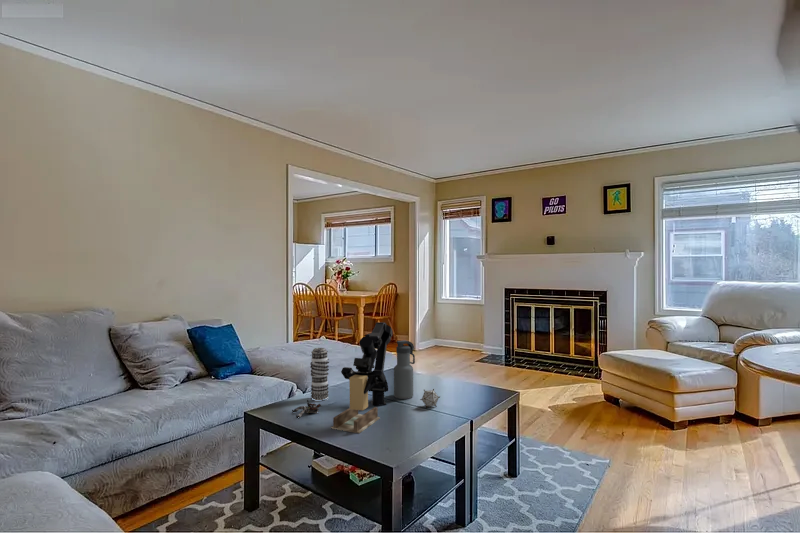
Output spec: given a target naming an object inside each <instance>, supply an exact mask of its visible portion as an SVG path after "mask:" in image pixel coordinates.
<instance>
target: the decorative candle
mask: <svg viewBox="0 0 800 533" xmlns="http://www.w3.org/2000/svg"><path fill="white" fill-rule="evenodd" d="M329 360H330V359H329V358H328V350H327V349H326V348H325V347H316V348H313V349H312V350H311V362H310V366H309V367H310V376H311V385H310V387H311V388H310V390H311V392H310V398H313V399H315V400H323V399H327V398H328V399H329V396H330V394H329V384H328V383H329V381H328V375H329V372H328V371H329V365H328V364H329V363H330V361H329ZM328 399H327V400H328Z"/></svg>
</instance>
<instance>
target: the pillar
mask: <svg viewBox="0 0 800 533" xmlns="http://www.w3.org/2000/svg"><path fill="white" fill-rule="evenodd" d="M348 380H349V382H348V383H349V408H350V409H354V410H358V411H363V412H364V410H366V409H367V408H369V391H368V392H367V393H366V394H364V389H365V386H366V384H367V381H368V376H364V375H353V376H352V377H350V378H349V379H348Z"/></svg>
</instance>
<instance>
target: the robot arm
mask: <svg viewBox="0 0 800 533" xmlns="http://www.w3.org/2000/svg"><path fill="white" fill-rule="evenodd" d="M392 337H393V328H392V327H391V326H389V325H387V323H386V322H385V321H383V322H381V321H379V322H375V324H374V328H373V330H372V331H371V333H366V334H364V337H361V338H360V340H359V342H358V343H359V347H360V350H361V352H362V354H363V355H362V357H361V358H360V357H354V359H353V367H355V369H356V370H353V368H352V367H347V366H344V367H342V368H341V371H340V372H341V375H342V376H343V377H344V378H345V380H349V378H350V377H352V376H353V375H364V376H368V381H367V384H366V386H365V389H364V394H366V393H367V392H368V393H369V392H371V396H372V397H371V398H372V399H371V400H370V404H371V405H372V406H375V407H377V406H385V405H387V402H386V401H385V393H386V392H388V391H389V386H388V385H389V383H388V380H387V377H386V375H385V373H384V370H385V361H386V353H387V345H388V344H389V343H390V342H391V341H392V340H391V338H392Z"/></svg>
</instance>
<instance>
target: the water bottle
mask: <svg viewBox="0 0 800 533" xmlns="http://www.w3.org/2000/svg"><path fill="white" fill-rule="evenodd" d="M414 350H415V345H414V343H413V342H411V341H410V340H409V341H408V340H405V339H403V340H397V341H396V363H397V364H396V365H395V366H394V367H393V396H394V398H395V399H399V400H408V399H412V398H413V397H414V367H413V365H414V364H415V362H416V358H415V357H416V356H415V353H414ZM411 356H412V361H411Z"/></svg>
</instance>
